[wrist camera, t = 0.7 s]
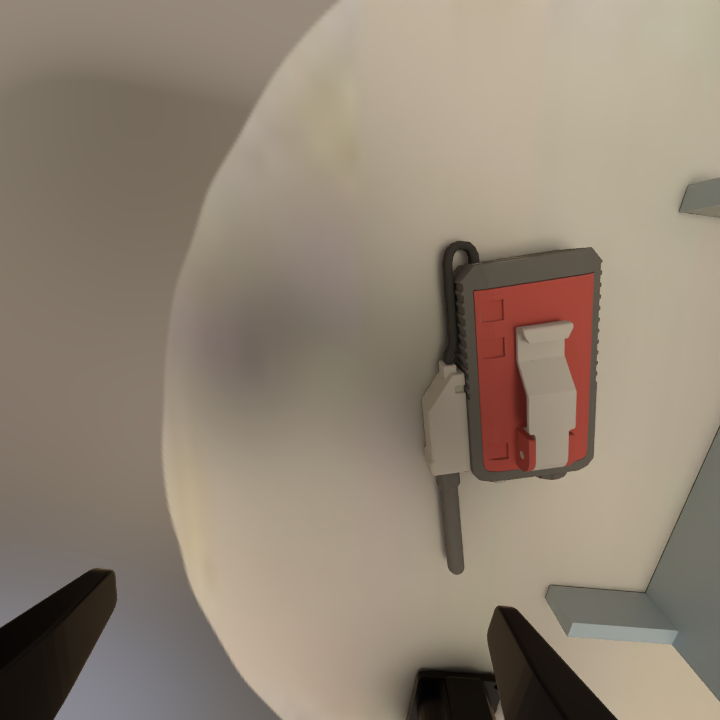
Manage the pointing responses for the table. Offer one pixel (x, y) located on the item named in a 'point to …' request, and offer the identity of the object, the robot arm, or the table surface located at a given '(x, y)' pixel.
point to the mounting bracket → (668, 562)
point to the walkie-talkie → (513, 373)
